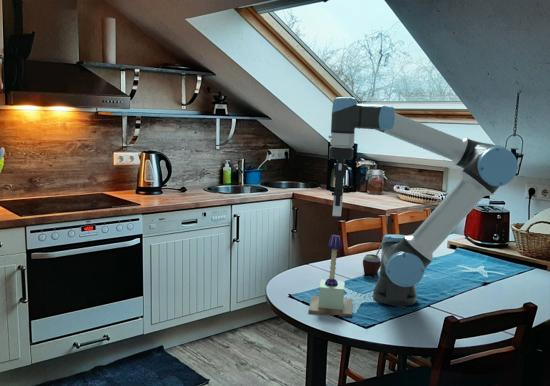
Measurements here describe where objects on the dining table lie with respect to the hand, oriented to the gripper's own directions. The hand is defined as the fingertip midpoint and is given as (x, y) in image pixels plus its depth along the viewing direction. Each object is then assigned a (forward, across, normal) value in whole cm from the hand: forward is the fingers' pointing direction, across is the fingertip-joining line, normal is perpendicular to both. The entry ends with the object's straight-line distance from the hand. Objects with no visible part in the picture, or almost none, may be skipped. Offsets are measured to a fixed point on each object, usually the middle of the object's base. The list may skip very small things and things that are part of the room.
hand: (337, 211), depth 177 cm
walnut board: (+33, 0, 0) cm, 33 cm away
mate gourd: (+33, -39, +15) cm, 53 cm away
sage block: (+32, 0, 0) cm, 32 cm away
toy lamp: (+25, 0, 0) cm, 25 cm away
